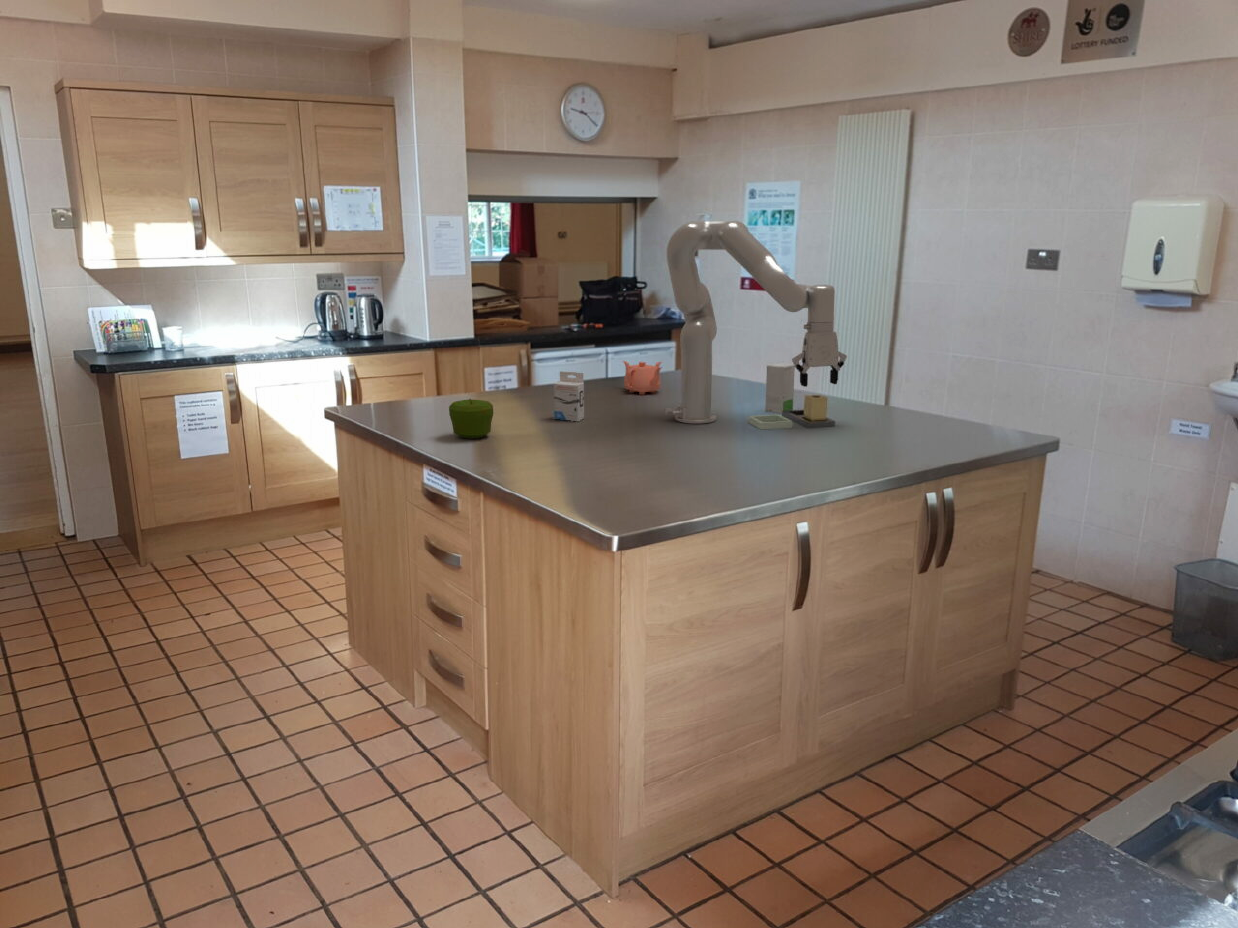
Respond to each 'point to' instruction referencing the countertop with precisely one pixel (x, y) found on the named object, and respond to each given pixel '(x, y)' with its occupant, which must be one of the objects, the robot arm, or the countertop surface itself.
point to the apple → (471, 418)
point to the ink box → (569, 397)
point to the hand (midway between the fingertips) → (818, 384)
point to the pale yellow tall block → (815, 408)
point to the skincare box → (779, 387)
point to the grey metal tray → (799, 418)
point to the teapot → (642, 377)
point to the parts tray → (770, 421)
